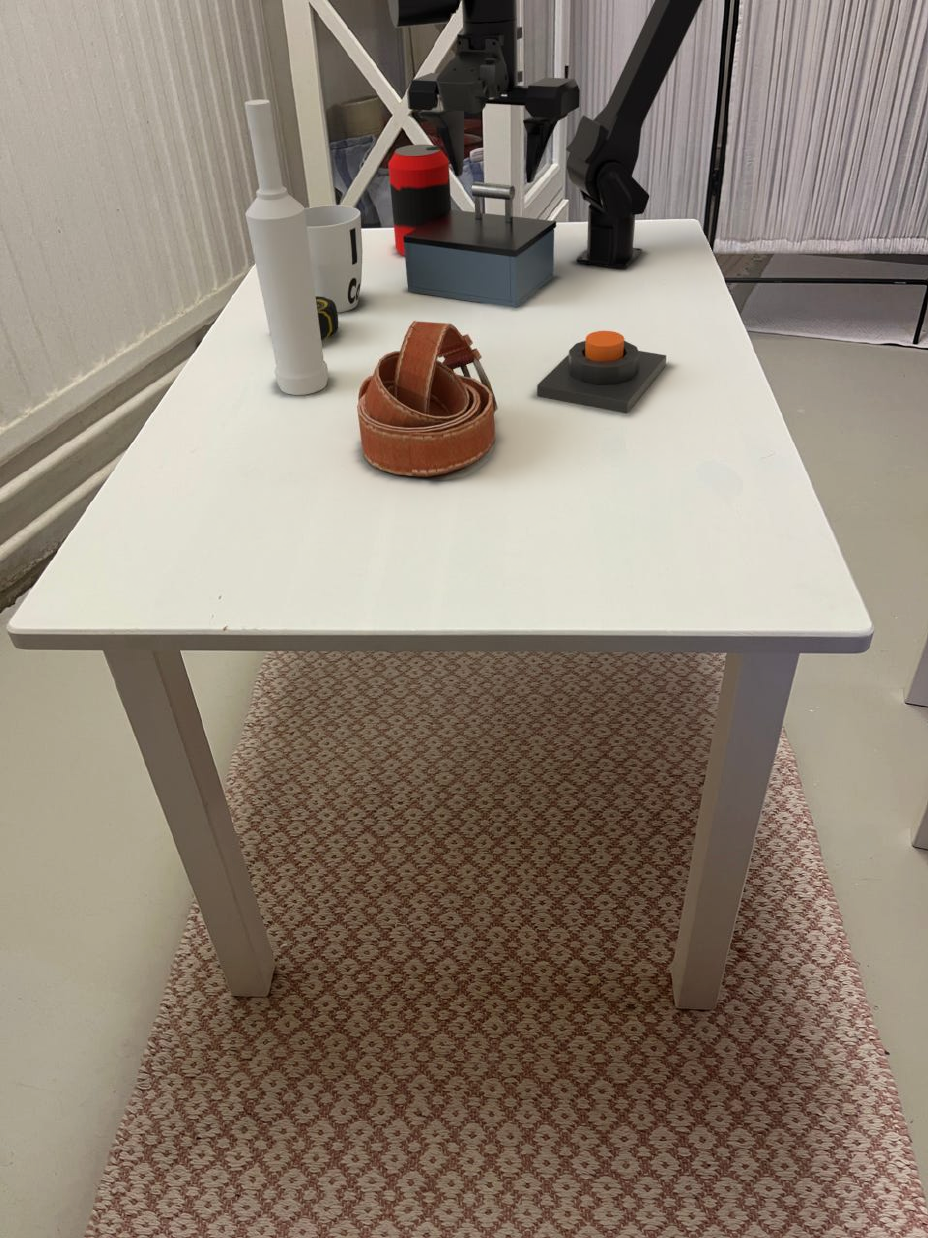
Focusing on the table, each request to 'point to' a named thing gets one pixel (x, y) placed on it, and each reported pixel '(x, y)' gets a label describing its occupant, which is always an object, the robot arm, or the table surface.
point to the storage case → (480, 272)
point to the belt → (427, 405)
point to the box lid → (483, 226)
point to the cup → (336, 253)
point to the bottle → (283, 265)
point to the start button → (604, 346)
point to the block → (602, 378)
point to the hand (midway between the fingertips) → (493, 178)
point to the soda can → (417, 188)
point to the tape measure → (327, 317)
